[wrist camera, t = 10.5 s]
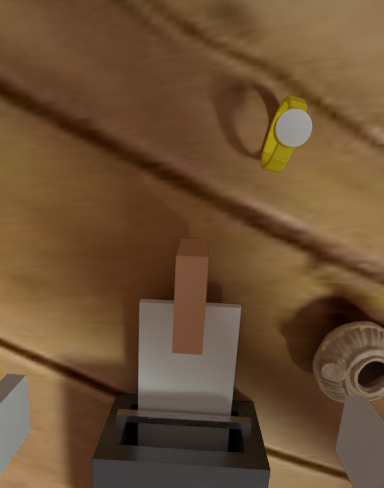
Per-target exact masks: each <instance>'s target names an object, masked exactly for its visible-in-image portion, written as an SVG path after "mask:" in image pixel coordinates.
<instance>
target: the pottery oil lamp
mask: <svg viewBox="0 0 384 488" xmlns="http://www.w3.org/2000/svg"><path fill="white" fill-rule="evenodd" d="M312 369H313V374H314V377H315V380H316V383H317V385H318V387H319V388H320V389H321V391H322V392H323V393H324V394H325V395H326V396H327V397H328V398H330V399H332V400H334V401H337V402H340V403H345V398H346V395H347V396H363V397H366V399H367V400H368V401H373V400H378V399H380V398H382V397H383V396H384V328H382V327H381V326H379V325H377V324H375V323H373V322H370V321H355V322H351V323H347V324H343V325H341V326H339V327H337V328H335V329H334V330H333V331H331V332H330V333H328V334H327V335H326V336H325V338H324V339H323V340H322V342H321V344H320V346H319V347H318V349H317V351H316V353H315V355H314V359H313V362H312Z"/></svg>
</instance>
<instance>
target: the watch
mask: <svg viewBox="0 0 384 488" xmlns="http://www.w3.org/2000/svg"><path fill="white" fill-rule="evenodd" d="M306 106H307V105H306V103H305V100H304V99H301V98H298V97H294V96H291V95H289V96H287V97H286V98H284V100H283V101H282V103H281V104H280V106H279V108H278V110H277V111H276V114H275V116H274V118H273V120H272V123H271V126H270V129H269V133H268V136H267V139H266V142H265V145H264V148H263V151H262V156H261V168H262V169H264V170H267V171H271V172H274V173H276V172H279V171H281V170H282V169H283V167H284V166H285V165H286V163H287V162H288V160H289V159H290V157H291V155H292V153H293V151H294V149H295V148H296V147H299V146H301V145H302V144H304V143H305V142H306V141H307V140H308V139H309V137H310V135H311V132H312V121H311V119H310V117H309V115H308V114H307V113H306V109H307V107H306Z"/></svg>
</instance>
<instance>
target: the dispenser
mask: <svg viewBox="0 0 384 488" xmlns="http://www.w3.org/2000/svg"><path fill="white" fill-rule="evenodd" d="M138 423H148V424H164V425H179V426H195V427H211V428H227V429H229V438H228V448H227V452H221V451H205V450H190V449H174V448H159V447H143V446H138ZM92 465H93V488H268V484H269V477H270V467H269V463H268V459H267V455H266V451H265V446H264V442H263V438H262V434H261V430H260V426H259V422H258V418H257V414H256V410H255V406H254V402H247V401H232V407H231V416H223V415H207V414H191V413H175V412H159V411H143V410H138V395H135V394H119V393H117V396H116V398H115V401H114V403H113V406H112V409H111V411H110V414H109V417H108V419H107V422H106V424H105V427H104V430H103V432H102V435H101V437H100V440H99V443H98V445H97V448H96V450H95V453H94V456H93V458H92Z"/></svg>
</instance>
